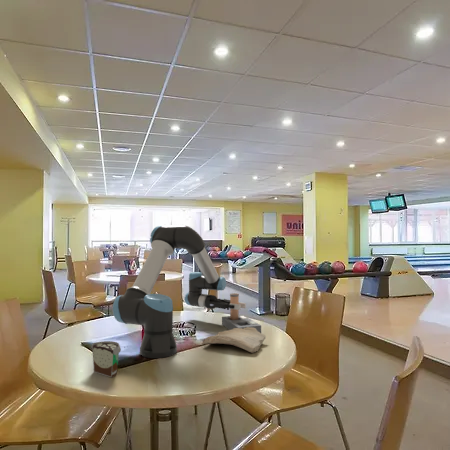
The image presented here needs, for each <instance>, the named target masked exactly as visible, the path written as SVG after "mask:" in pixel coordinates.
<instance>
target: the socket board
mask: <svg viewBox="0 0 450 450" xmlns="http://www.w3.org/2000/svg"><path fill="white" fill-rule="evenodd" d="M221 325H222V326H224V327H225V328H226V329H228V330H232V329H234V328H242V329H244V328H247V327H252V328H256V330H257V331H258V332H260V333H261V334H262V325H261V324H259V323H258V322H256V321H254V320H252V319H251V318H248V317H247V316H246V315H243V314H240V315H239V320H230V316H229V315H228V316H222V317H221Z"/></svg>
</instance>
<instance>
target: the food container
mask: <svg viewBox="0 0 450 450" xmlns="http://www.w3.org/2000/svg"><path fill="white" fill-rule="evenodd" d="M91 350H92V360H93V361H92V362H93V373H96V374H99V375H102V376H106V377H108V378H109V377H110V378H114V377H115V376H116V375H117V373H118V367H119V366H118V365H119V353H121V351H122V349H121V345H120V343H119V342H117V341H111V340H110V341H109V340H104V341H95V342H93V343H92V345H91Z"/></svg>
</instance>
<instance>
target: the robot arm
mask: <svg viewBox="0 0 450 450" xmlns="http://www.w3.org/2000/svg"><path fill="white" fill-rule="evenodd" d="M149 242H150V247H151V250H150V251H149V254H148V255H147V258H146V259H145V261H144V263H143V266H142V267H141V269H140V271H139V273H138V275H137V276H136V279H135V280H134V283H133V284H132V286H130V287H128V288H127V289H126V290H125V293H124V294H120V295H118V296H117V297H115V298H114V301H113V305H112V314H113V316H114V319H115V320H116V321H117V322H119V323H123V324H125V325H135V326H136V325H138V326H144V327H143V332H144V333H143V338H142V340H141V342H140V343H141V344H140V346H139V355H140V356H141V355H142V356H141V357H144V358H149V359H161V358H167V357H170V356H173V355H175V354H176V353H177V352H178V345H177V342H176V338H175V336H174V331H173V329H174V328H173V326H174V325H173V323H174V322H173V319H174V314H173V313H174V305H173V299H172V298H171V297H170V296H169V295H166V294H163V293H151V292H153V288H154V286H155V284H156V282H157V280H158V278H159V276H160V274H161V272H162V270H163V268H164V265H165V264H166V261H167V259H168V257H169V256H172V255H173V254H174V251H175V250H176V249H183V250H186V251H187V253H188V254H189V255H191V256H192V258H193V259H194V261H195V263H196V265H197V267H198V269H199V270H200V272H199V271H192V272H190V273H189V275H188V292H186V294H185V297H184V303H185V305H188V306H191V307H198V308H203V309H208V310H209V309H210V310H214V309H217V308H218V309H221V310H222V309H223V310H227V311H229V310H230V309H235V310H239V311H241V309H247V303H246V302H241V301H239V304H232V303H230V299H228V298H223V299H221V298H217V296H216V295H213V294H207V293H203V290H207V291H209V290H210V291H217V292H218V291H224V290H225V289H226V287H227V280H226V278H225V277H224V276H220V275H219V274H218V272H217V271H218V270H217V269H216V267H215V266H214V264H213V261H212V259H211V258H210V256H209V253H208V250H206V243H205V241H204V239H203V238H202V236H201V235H200V234H199V233H198V232H197V231H196V230H195V229H194V228H193V227H191V226H188V225H184V224H180V225H179V224H178V225H177V224H176V225H175V224H174V225H173V224H172V225H171V224H169V225H166V224H164V225H157V226H155V227H154V228H153V230H152V231H151V233H150V238H149Z"/></svg>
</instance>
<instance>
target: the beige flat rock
mask: <svg viewBox="0 0 450 450" xmlns="http://www.w3.org/2000/svg"><path fill="white" fill-rule="evenodd" d="M265 340H266V335H265V334H264V333H262V332H261V333H260V332H258V331H257V330H256V328H252V327H247V328H244V329H242V328H234V329H232V330H229V329H228V330H223V331H218V332H217V334H216V335H211V336H207V337H206V338H205V339H203V340H202V343H201V344H202V345H208V344H209V345H210V344H221V345H222V344H224V345H231V346H235V347H237V348H240V349H243V350H245V351H246V352H249V353H256V351H257V352H258V351H259V350H260V348H261V345H262V344H263V342H264V341H265Z"/></svg>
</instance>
